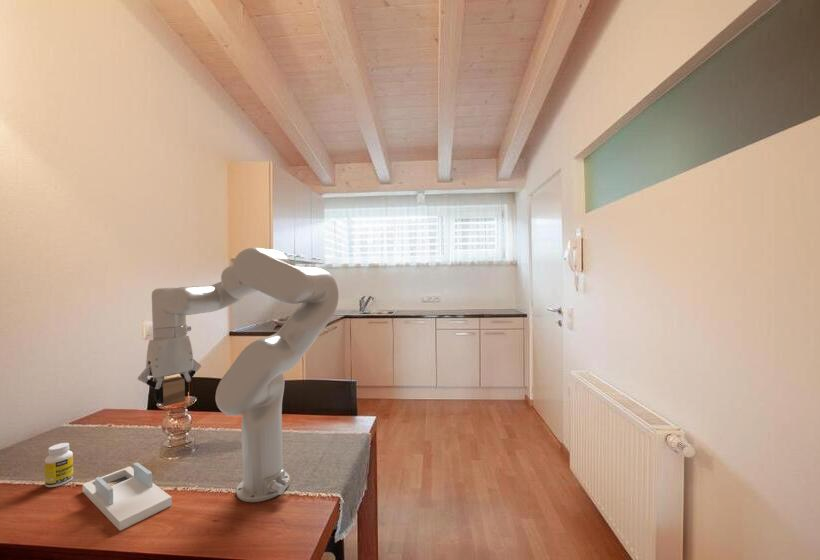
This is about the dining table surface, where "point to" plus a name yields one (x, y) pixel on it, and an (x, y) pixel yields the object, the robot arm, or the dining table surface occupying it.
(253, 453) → the robot arm
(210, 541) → the dining table surface
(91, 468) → the dining table surface
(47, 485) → the supplement bottle
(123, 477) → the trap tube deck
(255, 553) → the dining table surface
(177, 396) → the walnut block
